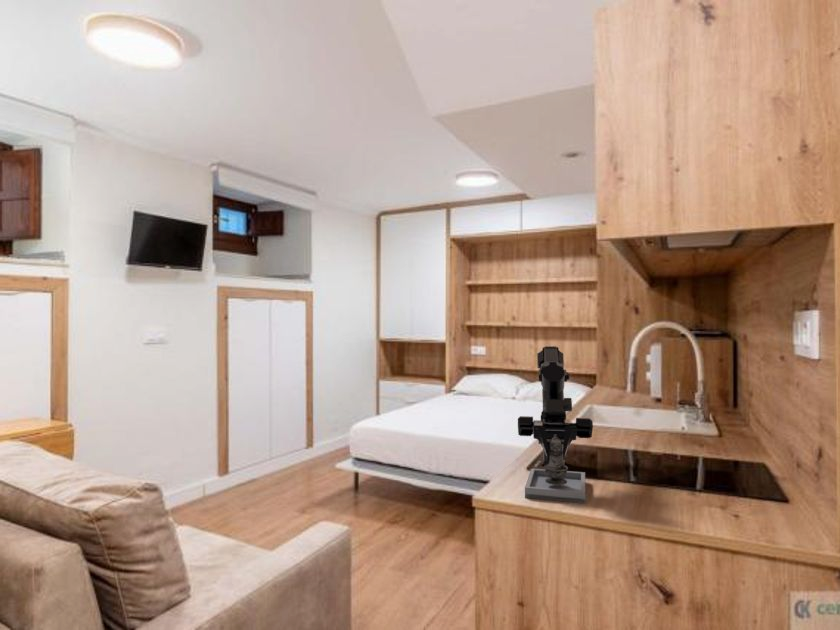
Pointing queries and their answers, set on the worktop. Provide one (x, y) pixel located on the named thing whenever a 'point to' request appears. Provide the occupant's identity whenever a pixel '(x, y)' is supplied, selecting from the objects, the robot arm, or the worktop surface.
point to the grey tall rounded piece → (555, 463)
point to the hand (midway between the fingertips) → (555, 456)
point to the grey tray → (556, 487)
